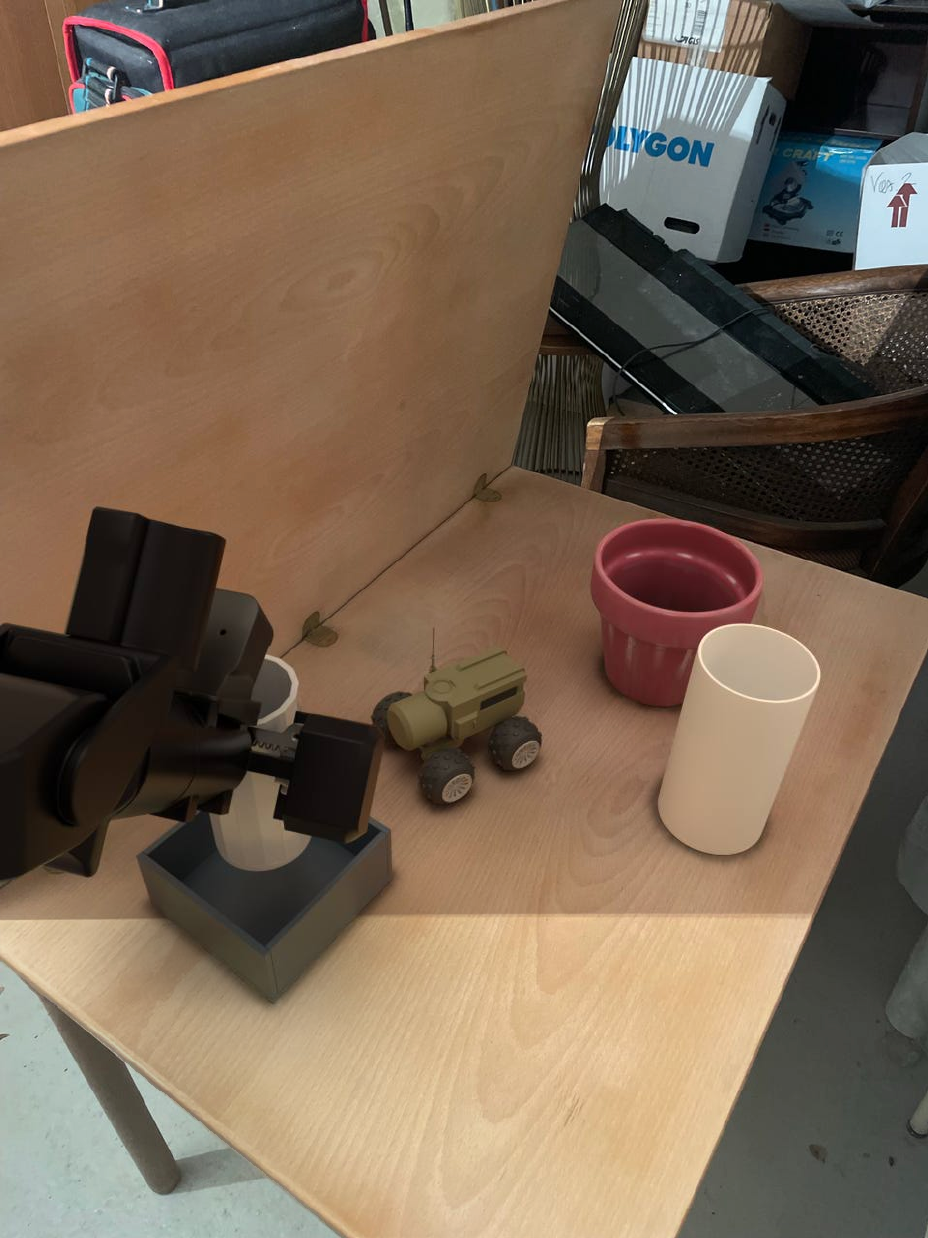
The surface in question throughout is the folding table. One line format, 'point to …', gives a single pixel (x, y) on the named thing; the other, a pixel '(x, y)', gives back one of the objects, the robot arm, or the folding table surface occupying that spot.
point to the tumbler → (262, 785)
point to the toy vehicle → (461, 720)
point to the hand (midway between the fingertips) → (263, 748)
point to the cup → (735, 736)
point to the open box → (264, 898)
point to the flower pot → (667, 601)
